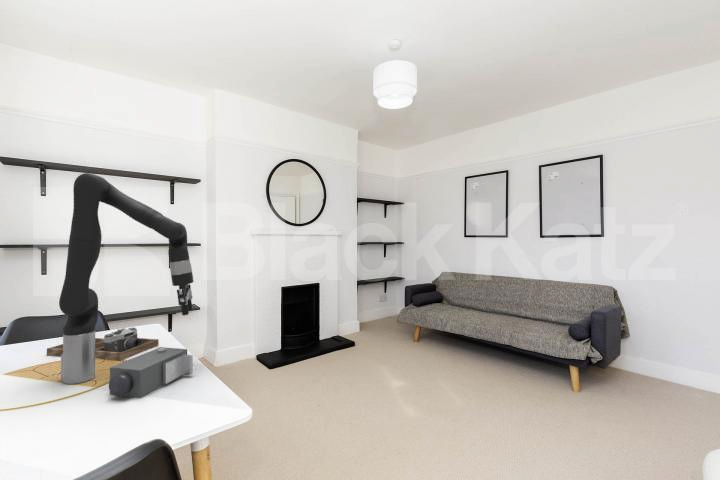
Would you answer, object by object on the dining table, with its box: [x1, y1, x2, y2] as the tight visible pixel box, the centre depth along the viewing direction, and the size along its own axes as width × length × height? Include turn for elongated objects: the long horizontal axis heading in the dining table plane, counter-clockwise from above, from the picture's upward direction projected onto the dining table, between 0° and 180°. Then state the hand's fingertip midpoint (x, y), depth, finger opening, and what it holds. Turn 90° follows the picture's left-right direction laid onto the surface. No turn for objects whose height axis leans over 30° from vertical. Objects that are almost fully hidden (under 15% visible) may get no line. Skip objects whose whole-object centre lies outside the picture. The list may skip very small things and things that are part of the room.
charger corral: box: [46, 337, 104, 358], centre depth 160 cm, size 15×18×3 cm
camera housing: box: [108, 346, 188, 399], centre depth 123 cm, size 12×25×10 cm, turn 168°
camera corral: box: [95, 337, 160, 361], centre depth 159 cm, size 15×21×3 cm
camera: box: [103, 326, 142, 353], centre depth 159 cm, size 16×10×10 cm, turn 168°
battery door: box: [163, 354, 194, 385], centre depth 126 cm, size 4×10×7 cm, turn 168°
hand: (187, 312), depth 138 cm, fingers open, 8 cm apart
